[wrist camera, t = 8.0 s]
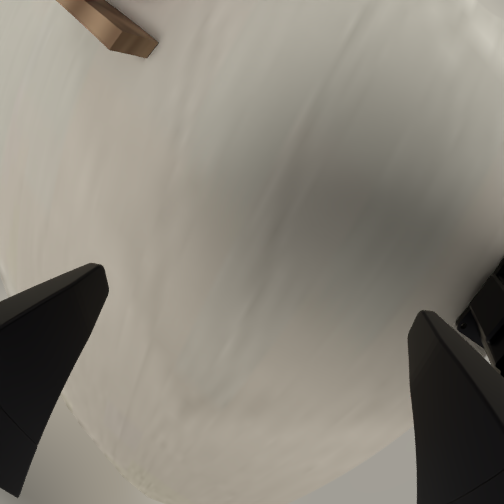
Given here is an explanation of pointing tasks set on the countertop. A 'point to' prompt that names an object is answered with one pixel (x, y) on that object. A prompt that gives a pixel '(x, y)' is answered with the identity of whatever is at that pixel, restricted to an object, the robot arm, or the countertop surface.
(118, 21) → the cradle
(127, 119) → the countertop surface
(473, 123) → the countertop surface
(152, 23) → the countertop surface
